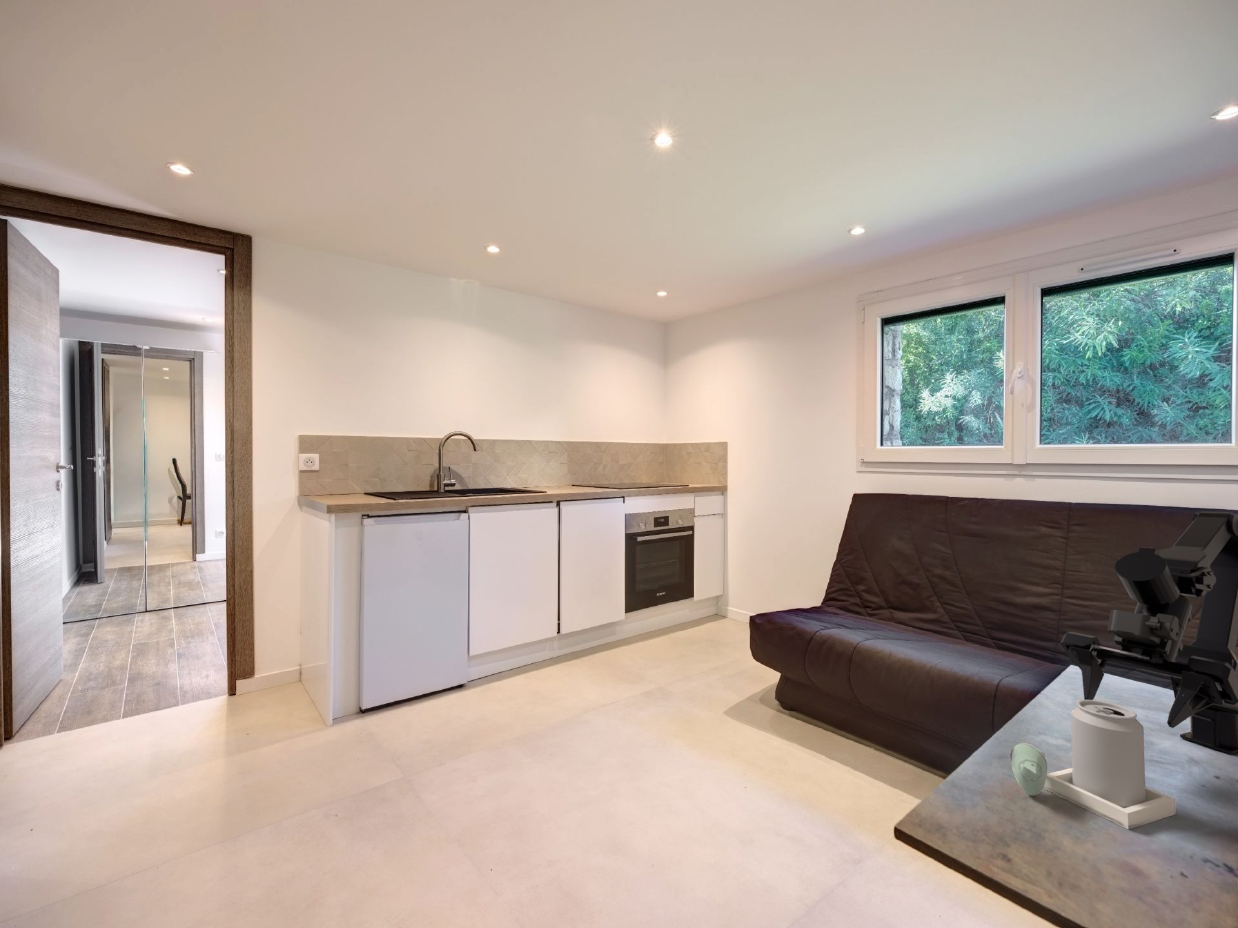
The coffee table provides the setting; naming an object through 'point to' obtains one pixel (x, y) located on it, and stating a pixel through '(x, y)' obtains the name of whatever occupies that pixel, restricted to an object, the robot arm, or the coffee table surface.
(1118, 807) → the tray
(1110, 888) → the coffee table surface
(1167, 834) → the coffee table surface
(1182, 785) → the coffee table surface
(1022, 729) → the coffee table surface
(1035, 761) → the green oval piece
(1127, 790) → the can
